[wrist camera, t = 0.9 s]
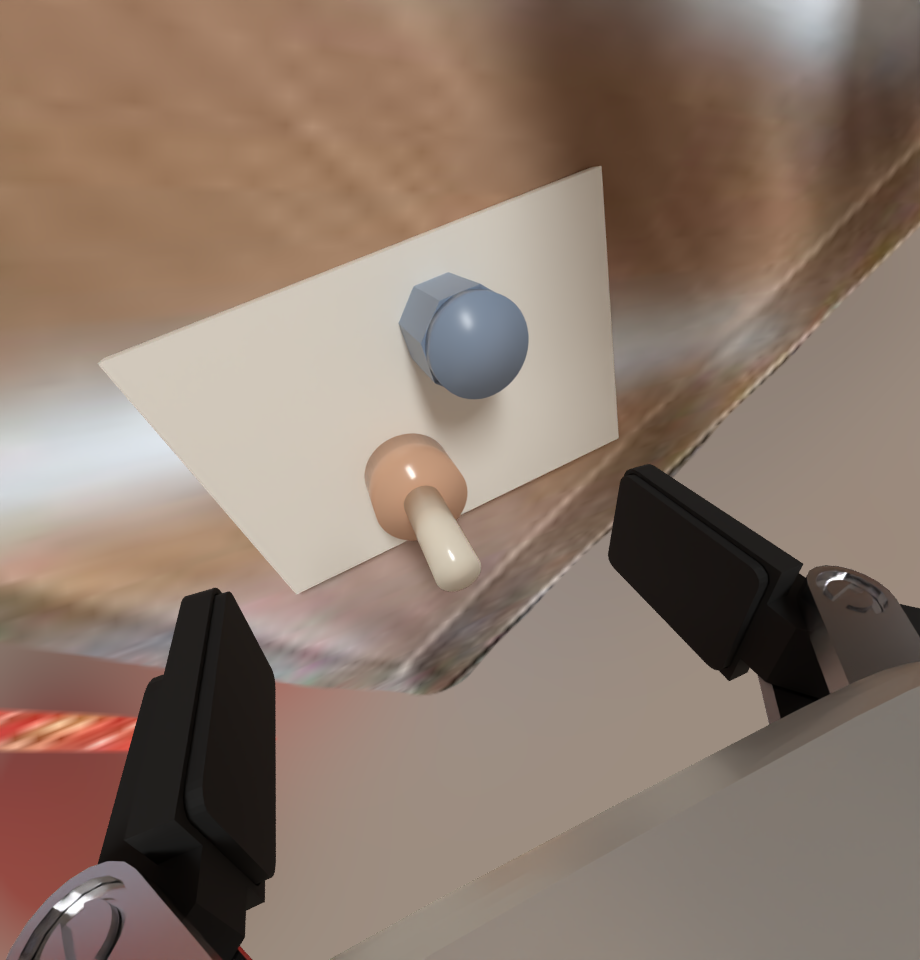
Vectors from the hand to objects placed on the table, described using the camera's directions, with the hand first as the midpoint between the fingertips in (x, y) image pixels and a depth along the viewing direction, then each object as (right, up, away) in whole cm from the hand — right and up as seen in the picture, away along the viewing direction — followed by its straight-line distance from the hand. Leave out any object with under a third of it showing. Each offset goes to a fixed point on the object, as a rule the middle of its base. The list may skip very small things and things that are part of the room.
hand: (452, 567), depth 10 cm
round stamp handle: (-4, +3, +21) cm, 22 cm away
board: (-2, +7, +20) cm, 22 cm away
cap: (-1, +12, +17) cm, 21 cm away
